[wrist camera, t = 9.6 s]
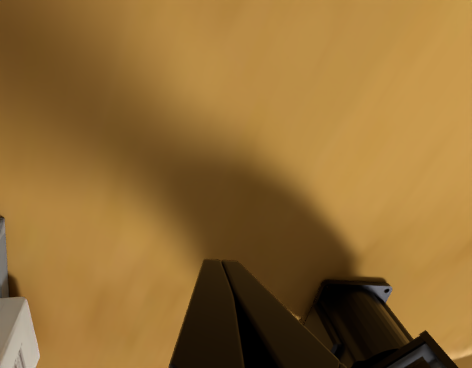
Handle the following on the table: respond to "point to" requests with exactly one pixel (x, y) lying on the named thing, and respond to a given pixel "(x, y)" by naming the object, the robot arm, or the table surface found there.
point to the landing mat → (3, 262)
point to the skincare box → (17, 334)
